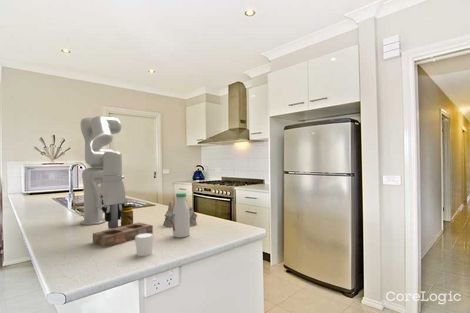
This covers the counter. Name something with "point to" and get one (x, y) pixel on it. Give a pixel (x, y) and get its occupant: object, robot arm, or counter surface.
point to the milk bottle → (181, 217)
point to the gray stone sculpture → (169, 216)
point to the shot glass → (144, 244)
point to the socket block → (121, 234)
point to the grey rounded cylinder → (113, 216)
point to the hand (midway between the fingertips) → (113, 219)
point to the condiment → (126, 215)
